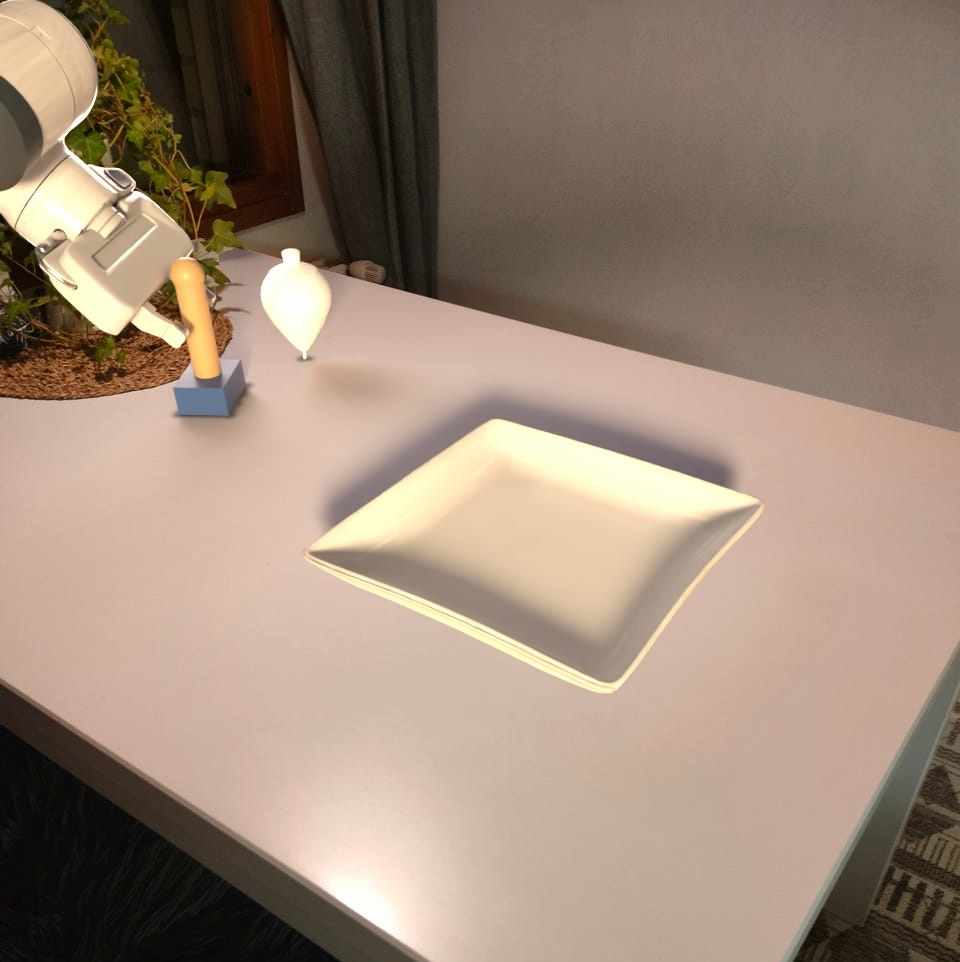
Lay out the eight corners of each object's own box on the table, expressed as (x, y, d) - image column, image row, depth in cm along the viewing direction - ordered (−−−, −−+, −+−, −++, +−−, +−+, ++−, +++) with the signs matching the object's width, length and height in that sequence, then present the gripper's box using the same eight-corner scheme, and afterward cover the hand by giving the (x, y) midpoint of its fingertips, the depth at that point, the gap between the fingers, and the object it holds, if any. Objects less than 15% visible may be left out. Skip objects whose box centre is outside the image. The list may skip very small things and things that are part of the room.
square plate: (300, 590, 71) (293, 548, 69) (494, 448, 89) (494, 411, 86) (608, 729, 60) (613, 685, 57) (762, 534, 77) (772, 494, 74)
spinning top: (342, 369, 103) (330, 258, 95) (273, 376, 102) (255, 265, 94) (334, 342, 109) (322, 236, 101) (269, 349, 107) (252, 242, 99)
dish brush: (179, 415, 94) (144, 270, 85) (199, 384, 100) (168, 245, 90) (228, 415, 94) (200, 270, 85) (246, 385, 100) (220, 246, 90)
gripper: (43, 225, 76) (184, 342, 82) (128, 164, 92) (241, 266, 97) (9, 279, 79) (147, 388, 85) (97, 211, 95) (208, 307, 101)
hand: (198, 322), depth 91 cm, fingers open, 8 cm apart
